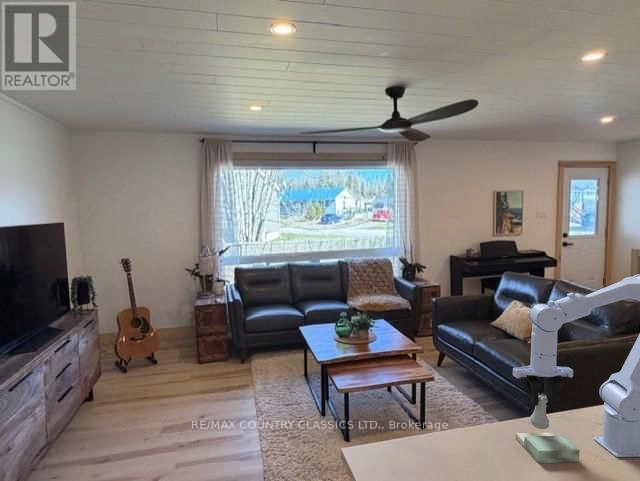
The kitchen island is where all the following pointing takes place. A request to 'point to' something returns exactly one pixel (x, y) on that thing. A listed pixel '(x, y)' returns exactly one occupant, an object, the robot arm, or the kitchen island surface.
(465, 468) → the kitchen island surface
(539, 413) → the rook chess piece
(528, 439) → the stepped riser
